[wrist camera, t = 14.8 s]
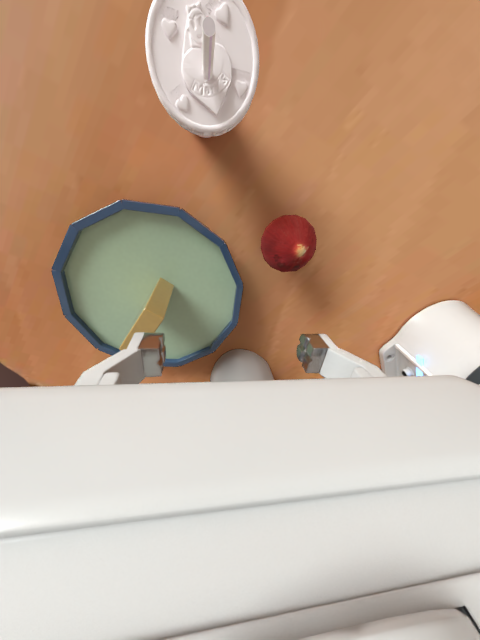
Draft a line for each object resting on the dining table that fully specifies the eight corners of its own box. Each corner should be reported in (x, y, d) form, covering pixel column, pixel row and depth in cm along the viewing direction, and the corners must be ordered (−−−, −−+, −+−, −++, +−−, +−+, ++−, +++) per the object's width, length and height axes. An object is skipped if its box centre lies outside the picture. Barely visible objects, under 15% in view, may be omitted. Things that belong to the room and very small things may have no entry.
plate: (186, 379, 34) (181, 430, 27) (36, 315, 26) (-29, 364, 19) (271, 276, 28) (296, 307, 20) (108, 150, 20) (51, 126, 12)
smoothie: (183, 162, 22) (159, 129, 10) (156, 73, 19) (76, -127, 7) (244, 145, 22) (292, 94, 10) (228, 53, 19) (271, -178, 7)
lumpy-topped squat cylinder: (222, 410, 42) (226, 457, 34) (200, 358, 35) (199, 404, 27) (276, 395, 42) (292, 439, 34) (264, 341, 35) (280, 381, 27)
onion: (298, 260, 29) (327, 281, 22) (254, 263, 29) (271, 286, 22) (303, 211, 26) (338, 218, 19) (255, 213, 26) (273, 221, 19)
